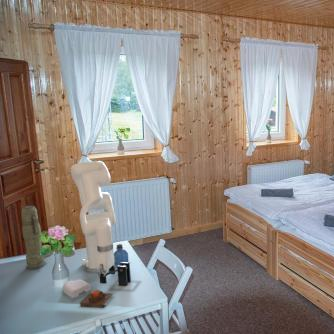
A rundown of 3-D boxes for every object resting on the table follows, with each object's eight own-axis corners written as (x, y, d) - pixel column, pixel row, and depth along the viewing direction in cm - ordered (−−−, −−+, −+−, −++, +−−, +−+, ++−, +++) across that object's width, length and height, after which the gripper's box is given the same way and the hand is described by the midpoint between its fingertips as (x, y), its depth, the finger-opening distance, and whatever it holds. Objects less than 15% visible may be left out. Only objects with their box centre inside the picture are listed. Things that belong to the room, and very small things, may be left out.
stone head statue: (36, 270, 213) (28, 210, 206) (22, 266, 218) (13, 207, 211) (50, 264, 221) (43, 205, 213) (36, 260, 226) (29, 203, 218)
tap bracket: (109, 289, 193) (107, 267, 190) (117, 280, 202) (115, 259, 199) (132, 290, 192) (131, 269, 189) (139, 281, 200) (138, 260, 198)
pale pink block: (75, 283, 200) (91, 292, 190) (57, 290, 192) (73, 300, 183) (74, 274, 199) (90, 283, 189) (56, 281, 191) (72, 291, 182)
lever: (104, 278, 194) (102, 274, 194) (109, 274, 199) (107, 270, 199) (124, 271, 192) (122, 266, 192) (129, 266, 197) (126, 262, 197)
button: (90, 297, 179) (89, 293, 179) (94, 293, 183) (93, 289, 183) (97, 297, 179) (97, 294, 179) (101, 293, 183) (101, 290, 182)
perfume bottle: (123, 267, 216) (121, 247, 213) (113, 267, 217) (111, 247, 214) (128, 263, 222) (127, 243, 219) (118, 262, 223) (117, 242, 220)
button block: (80, 306, 178) (79, 299, 177) (90, 296, 187) (89, 288, 186) (103, 308, 177) (102, 300, 176) (112, 297, 186) (111, 290, 185)
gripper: (106, 240, 202) (108, 270, 206) (89, 254, 185) (92, 286, 189) (119, 240, 201) (122, 270, 205) (104, 254, 184) (107, 287, 188)
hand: (107, 278), depth 197 cm, fingers open, 9 cm apart
